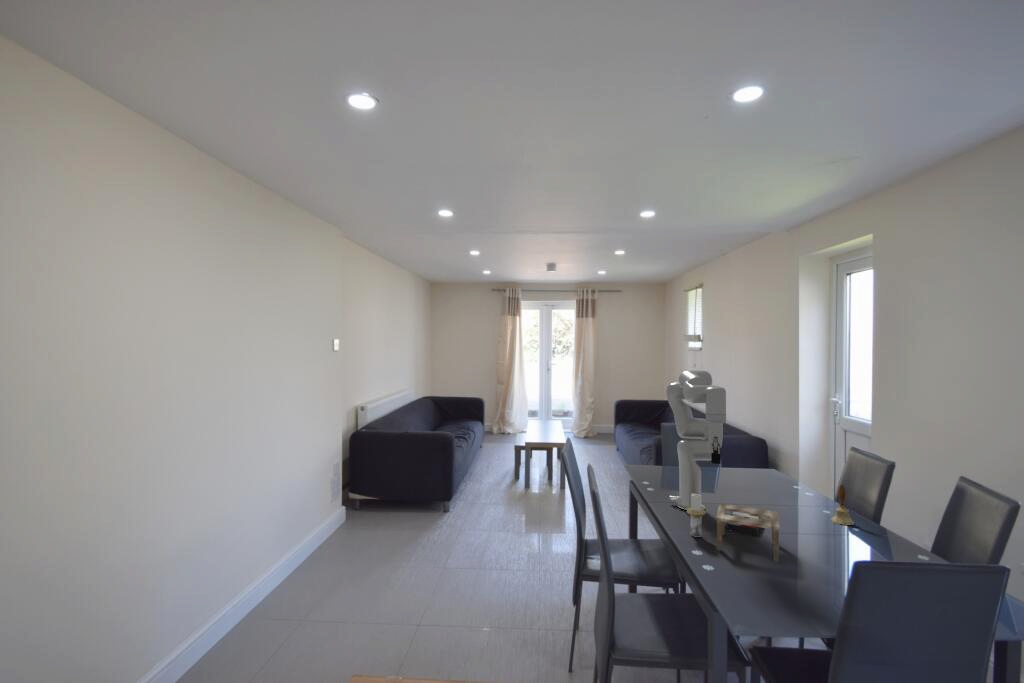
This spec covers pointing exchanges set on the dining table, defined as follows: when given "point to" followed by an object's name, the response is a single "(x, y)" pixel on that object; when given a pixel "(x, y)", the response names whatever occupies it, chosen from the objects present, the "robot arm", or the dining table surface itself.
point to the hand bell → (842, 510)
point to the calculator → (743, 528)
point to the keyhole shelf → (749, 523)
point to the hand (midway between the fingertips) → (716, 461)
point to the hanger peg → (696, 514)
